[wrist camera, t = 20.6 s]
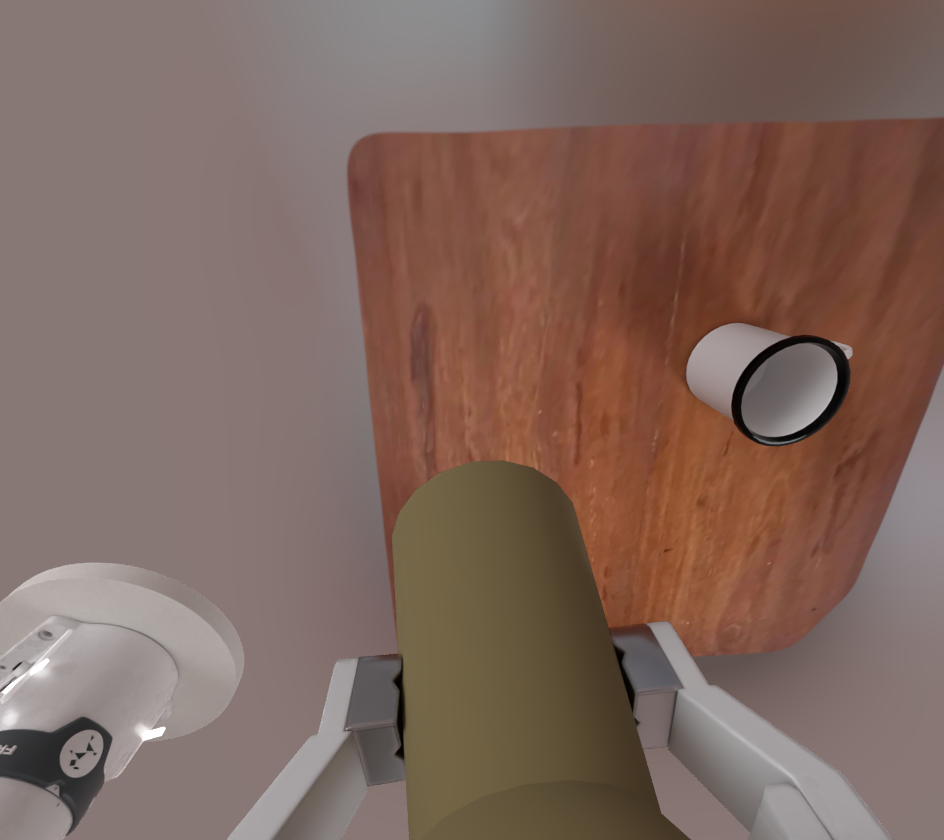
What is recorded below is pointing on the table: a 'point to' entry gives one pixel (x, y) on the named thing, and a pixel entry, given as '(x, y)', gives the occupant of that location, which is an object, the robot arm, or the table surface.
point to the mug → (770, 381)
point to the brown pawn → (511, 669)
